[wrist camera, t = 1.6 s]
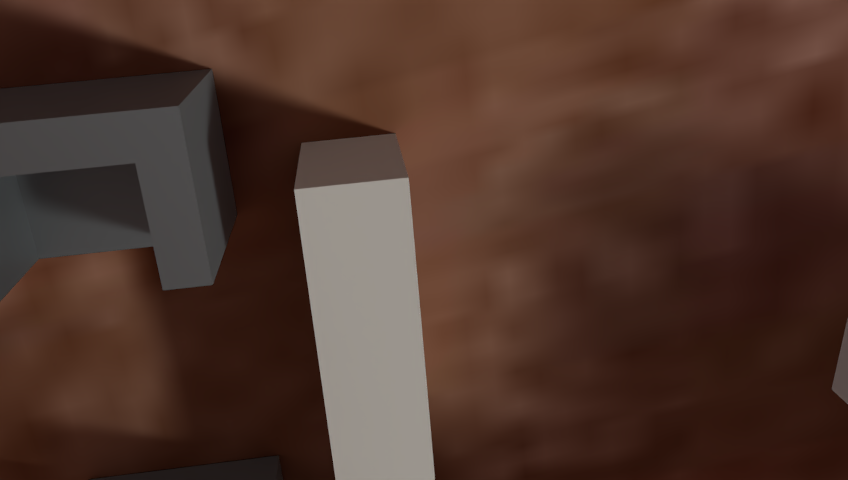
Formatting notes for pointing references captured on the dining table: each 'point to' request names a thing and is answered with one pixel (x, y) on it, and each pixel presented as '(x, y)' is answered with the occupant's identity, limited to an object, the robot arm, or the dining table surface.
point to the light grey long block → (365, 306)
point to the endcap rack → (121, 190)
